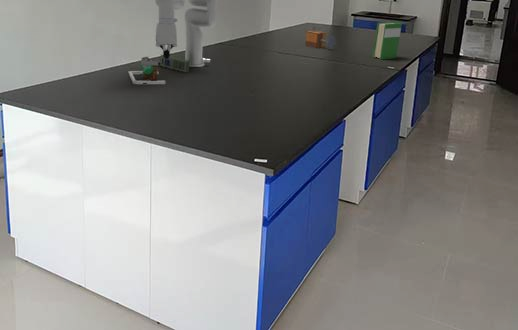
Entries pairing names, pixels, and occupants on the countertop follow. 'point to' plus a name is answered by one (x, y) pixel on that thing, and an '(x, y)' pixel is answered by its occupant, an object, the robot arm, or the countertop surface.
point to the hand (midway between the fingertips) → (166, 58)
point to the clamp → (318, 39)
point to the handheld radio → (175, 63)
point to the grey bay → (143, 81)
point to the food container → (149, 68)
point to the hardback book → (387, 40)
